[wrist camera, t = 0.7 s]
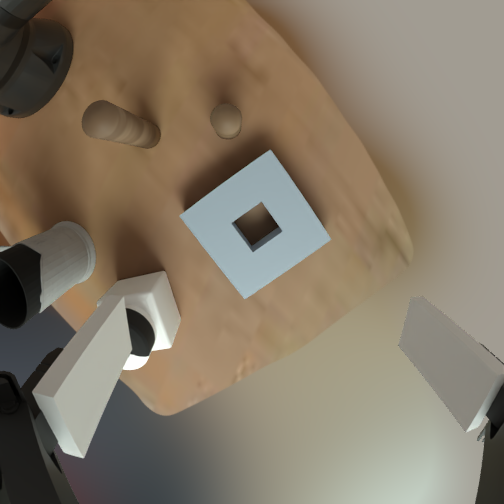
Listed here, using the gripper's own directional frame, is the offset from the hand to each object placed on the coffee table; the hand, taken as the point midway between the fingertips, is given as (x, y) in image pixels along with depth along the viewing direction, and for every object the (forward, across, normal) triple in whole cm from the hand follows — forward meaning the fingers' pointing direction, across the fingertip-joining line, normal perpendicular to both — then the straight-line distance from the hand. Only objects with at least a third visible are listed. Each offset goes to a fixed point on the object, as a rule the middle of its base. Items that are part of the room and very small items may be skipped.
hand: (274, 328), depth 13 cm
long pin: (+24, -12, +10) cm, 29 cm away
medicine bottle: (+24, -13, -10) cm, 29 cm away
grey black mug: (+25, -27, -4) cm, 36 cm away
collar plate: (+24, +1, 0) cm, 24 cm away
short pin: (+24, -3, +11) cm, 27 cm away
